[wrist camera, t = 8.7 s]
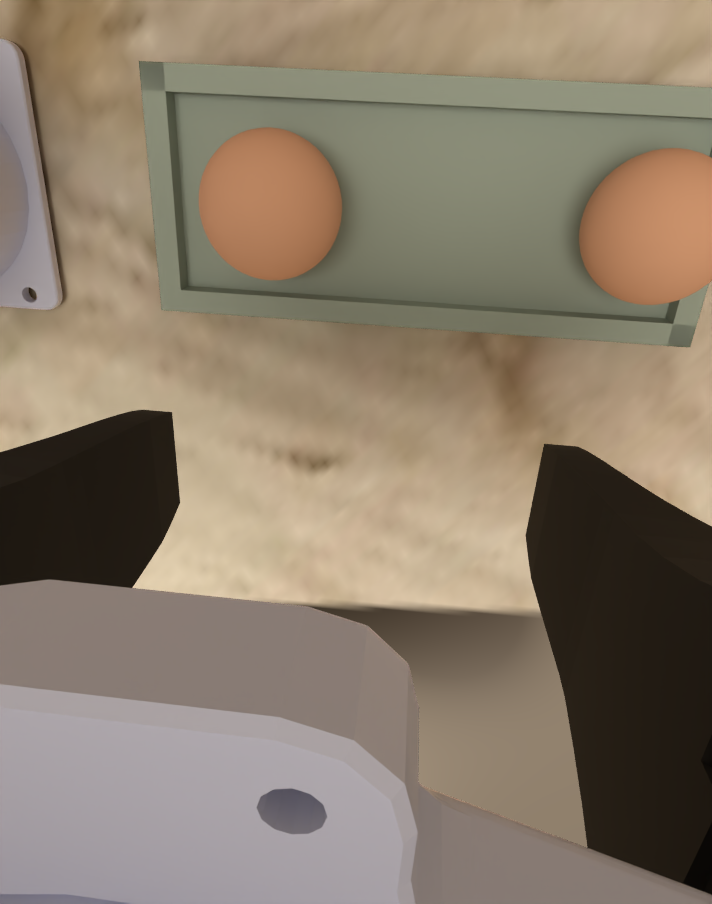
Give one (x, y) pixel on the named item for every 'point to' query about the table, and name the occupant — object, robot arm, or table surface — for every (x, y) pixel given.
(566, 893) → the robot arm
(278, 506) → the table surface
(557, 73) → the table surface
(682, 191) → the terracotta ball
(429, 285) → the trough green
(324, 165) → the terracotta ball
